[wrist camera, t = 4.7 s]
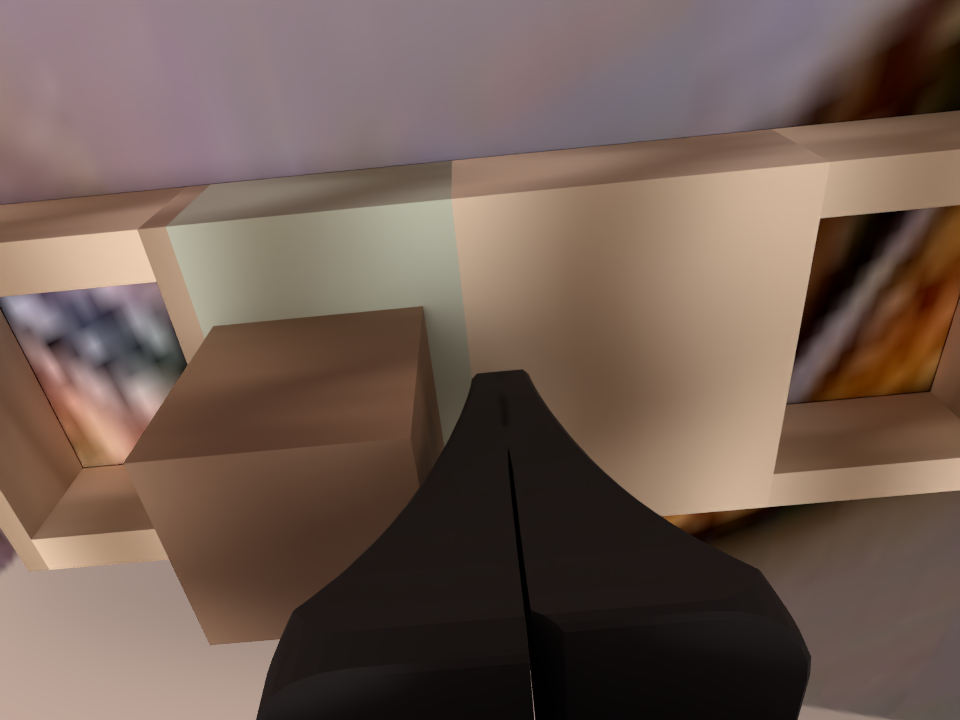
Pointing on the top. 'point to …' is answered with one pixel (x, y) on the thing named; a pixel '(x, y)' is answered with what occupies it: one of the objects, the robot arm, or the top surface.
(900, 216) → the top surface
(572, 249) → the frame
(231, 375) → the walnut block
